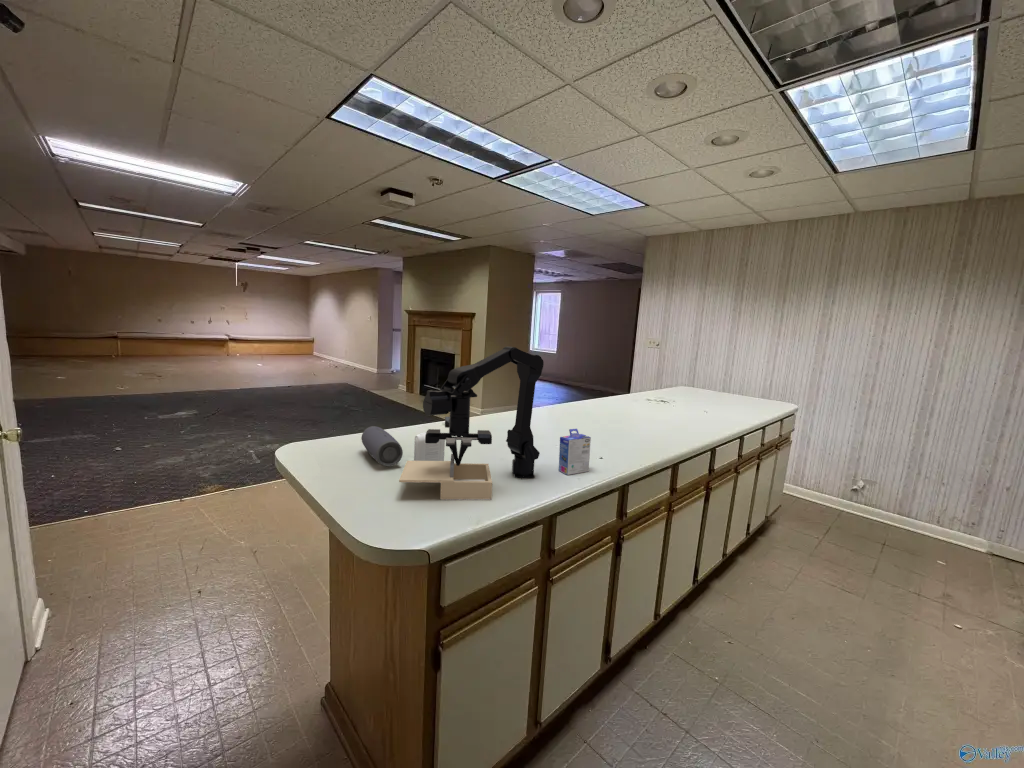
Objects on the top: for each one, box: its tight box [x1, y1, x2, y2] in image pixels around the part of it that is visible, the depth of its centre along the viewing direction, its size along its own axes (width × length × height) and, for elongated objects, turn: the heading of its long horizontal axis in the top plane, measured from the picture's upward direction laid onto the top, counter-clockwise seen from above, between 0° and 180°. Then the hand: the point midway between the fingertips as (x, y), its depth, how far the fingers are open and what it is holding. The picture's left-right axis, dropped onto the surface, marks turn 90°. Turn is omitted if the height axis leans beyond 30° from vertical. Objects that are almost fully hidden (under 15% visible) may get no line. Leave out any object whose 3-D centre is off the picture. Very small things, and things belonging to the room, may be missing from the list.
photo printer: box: [413, 431, 446, 461], centre depth 137 cm, size 10×4×12 cm, turn 123°
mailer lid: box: [398, 453, 455, 483], centre depth 120 cm, size 14×16×4 cm
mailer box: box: [440, 462, 493, 501], centre depth 122 cm, size 14×16×5 cm
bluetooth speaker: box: [360, 425, 404, 467], centre depth 143 cm, size 23×9×10 cm, turn 32°
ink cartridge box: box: [558, 428, 592, 476], centre depth 141 cm, size 10×6×14 cm, turn 122°
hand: (457, 465), depth 121 cm, fingers closed
